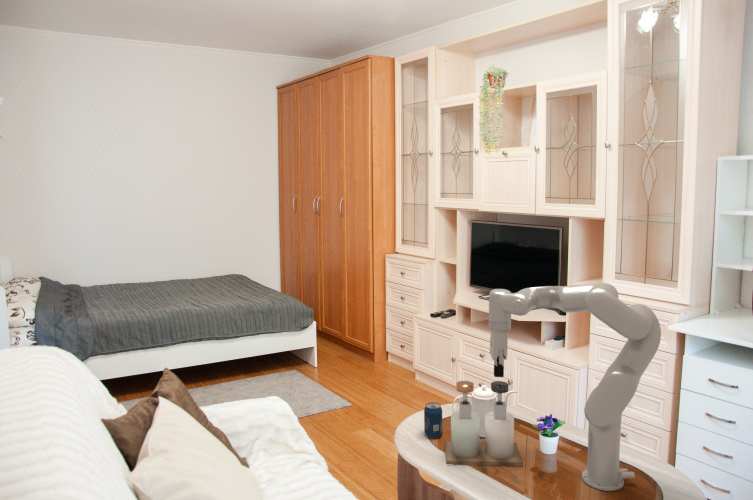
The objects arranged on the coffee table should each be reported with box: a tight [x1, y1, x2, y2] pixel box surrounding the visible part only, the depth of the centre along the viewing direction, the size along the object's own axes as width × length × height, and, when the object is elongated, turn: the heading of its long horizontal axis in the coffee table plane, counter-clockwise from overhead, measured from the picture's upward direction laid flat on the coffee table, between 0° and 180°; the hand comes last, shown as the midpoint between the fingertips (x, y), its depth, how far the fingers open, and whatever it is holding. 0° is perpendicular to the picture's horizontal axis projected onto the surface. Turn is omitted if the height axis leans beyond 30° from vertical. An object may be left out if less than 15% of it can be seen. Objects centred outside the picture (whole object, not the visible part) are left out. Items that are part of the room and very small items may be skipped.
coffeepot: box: [451, 384, 519, 439], centre depth 215 cm, size 11×25×19 cm, turn 84°
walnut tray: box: [444, 440, 524, 467], centre depth 198 cm, size 26×14×2 cm, turn 85°
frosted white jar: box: [484, 400, 515, 459], centre depth 197 cm, size 10×10×18 cm
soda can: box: [423, 402, 444, 439], centre depth 214 cm, size 7×7×12 cm
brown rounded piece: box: [455, 380, 475, 404], centre depth 196 cm, size 6×6×8 cm
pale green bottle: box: [450, 400, 480, 458], centre depth 198 cm, size 10×10×18 cm
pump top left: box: [490, 380, 510, 405], centre depth 195 cm, size 6×6×8 cm
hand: (498, 376), depth 194 cm, fingers closed
